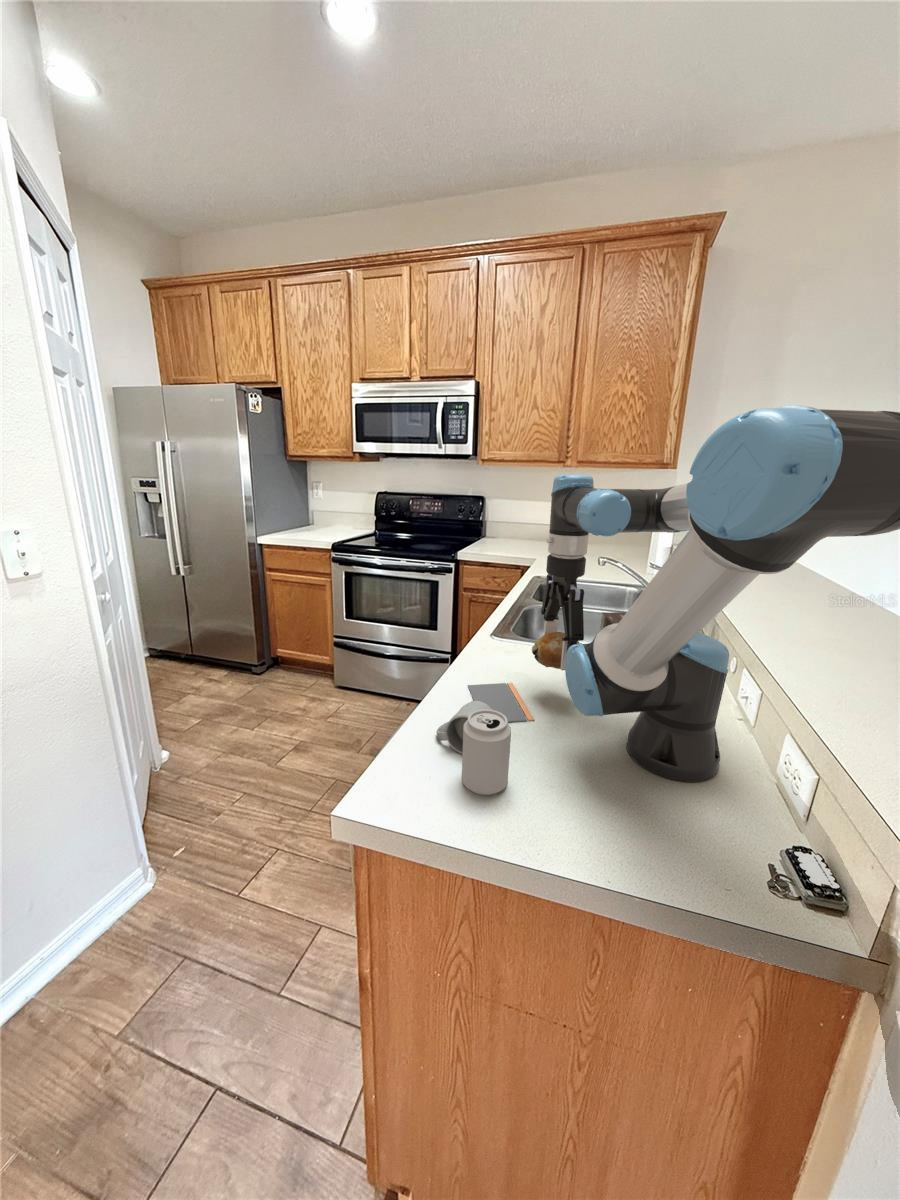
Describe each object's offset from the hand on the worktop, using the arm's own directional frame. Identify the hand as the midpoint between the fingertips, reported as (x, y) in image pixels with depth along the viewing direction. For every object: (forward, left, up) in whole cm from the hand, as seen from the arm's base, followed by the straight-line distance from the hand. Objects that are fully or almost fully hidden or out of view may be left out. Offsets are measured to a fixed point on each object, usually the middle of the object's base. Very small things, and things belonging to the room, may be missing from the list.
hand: (557, 658), depth 102 cm
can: (-25, +21, -10) cm, 34 cm away
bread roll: (0, 0, -1) cm, 1 cm away
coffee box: (+6, -17, -10) cm, 21 cm away
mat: (0, +12, -10) cm, 16 cm away
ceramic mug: (-13, +22, -10) cm, 27 cm away
